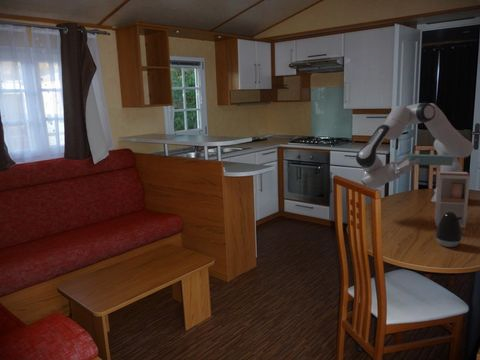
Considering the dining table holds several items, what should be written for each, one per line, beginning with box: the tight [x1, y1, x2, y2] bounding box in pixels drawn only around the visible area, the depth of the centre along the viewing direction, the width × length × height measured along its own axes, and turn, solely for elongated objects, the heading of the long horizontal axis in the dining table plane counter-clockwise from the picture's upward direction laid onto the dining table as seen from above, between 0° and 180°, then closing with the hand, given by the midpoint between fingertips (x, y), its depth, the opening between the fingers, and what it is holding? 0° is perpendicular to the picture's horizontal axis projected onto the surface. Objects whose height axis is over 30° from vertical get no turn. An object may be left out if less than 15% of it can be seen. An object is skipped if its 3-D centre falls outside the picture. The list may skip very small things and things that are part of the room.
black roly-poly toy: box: [435, 212, 463, 248], centre depth 180 cm, size 10×10×15 cm
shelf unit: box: [434, 171, 471, 229], centre depth 205 cm, size 9×13×27 cm
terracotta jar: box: [451, 183, 463, 199], centre depth 203 cm, size 5×5×8 cm
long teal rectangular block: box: [409, 153, 453, 166], centre depth 204 cm, size 4×19×4 cm, turn 70°
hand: (419, 158), depth 205 cm, fingers closed on long teal rectangular block, 4 cm apart
